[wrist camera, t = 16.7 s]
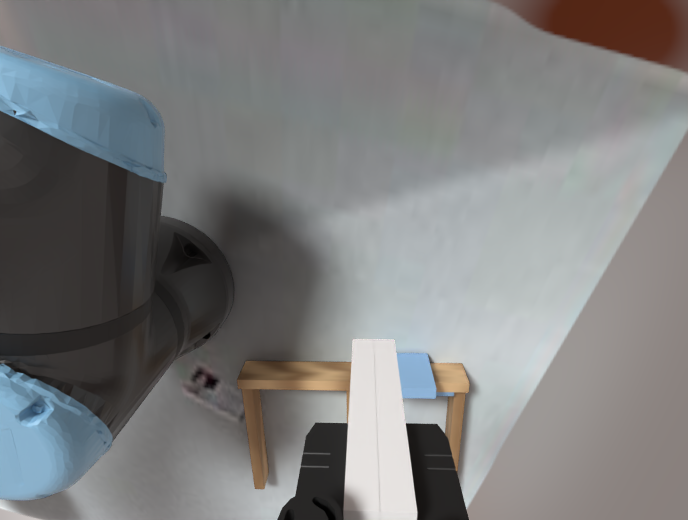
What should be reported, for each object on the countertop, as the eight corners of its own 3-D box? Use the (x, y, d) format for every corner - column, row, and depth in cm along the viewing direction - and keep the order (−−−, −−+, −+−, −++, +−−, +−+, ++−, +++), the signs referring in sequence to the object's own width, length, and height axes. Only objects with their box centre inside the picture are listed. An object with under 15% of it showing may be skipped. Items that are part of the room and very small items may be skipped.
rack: (259, 471, 52) (252, 496, 49) (246, 360, 46) (236, 379, 43) (450, 477, 51) (456, 502, 48) (461, 363, 45) (469, 383, 42)
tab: (382, 362, 45) (384, 397, 39) (382, 353, 44) (384, 387, 39) (426, 362, 45) (435, 398, 39) (427, 353, 44) (436, 388, 39)
